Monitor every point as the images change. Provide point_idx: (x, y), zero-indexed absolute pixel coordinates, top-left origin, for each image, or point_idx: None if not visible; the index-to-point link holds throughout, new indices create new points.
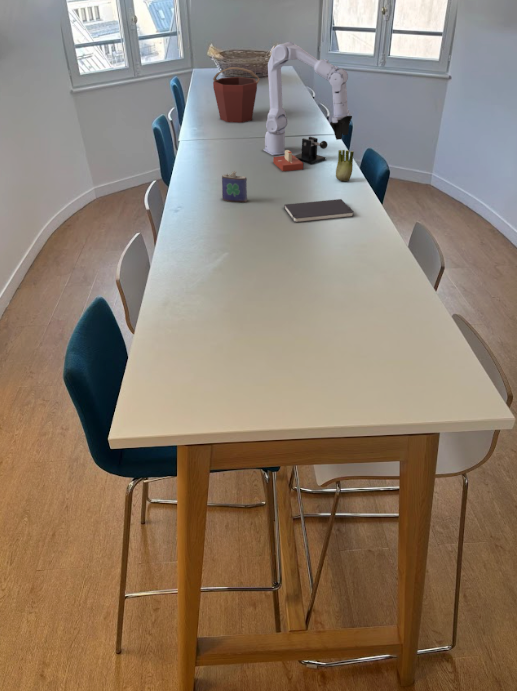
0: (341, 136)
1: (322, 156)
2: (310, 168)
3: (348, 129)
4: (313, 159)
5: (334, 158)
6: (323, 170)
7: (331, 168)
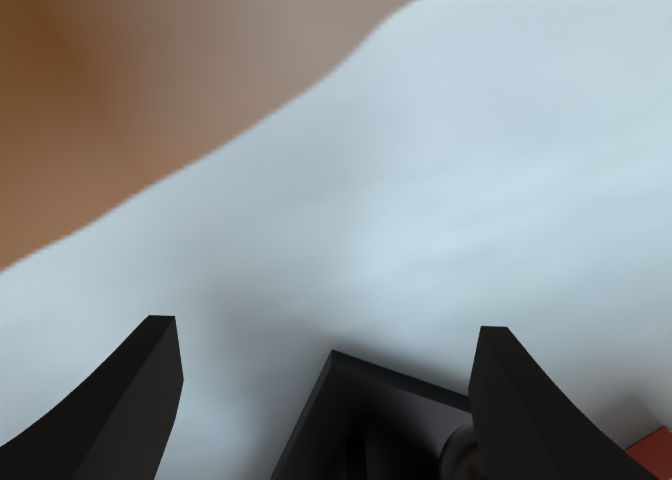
0: (521, 351)
1: (320, 395)
2: (621, 383)
3: (118, 363)
4: (445, 433)
5: (240, 291)
6: (651, 267)
7: (567, 219)
